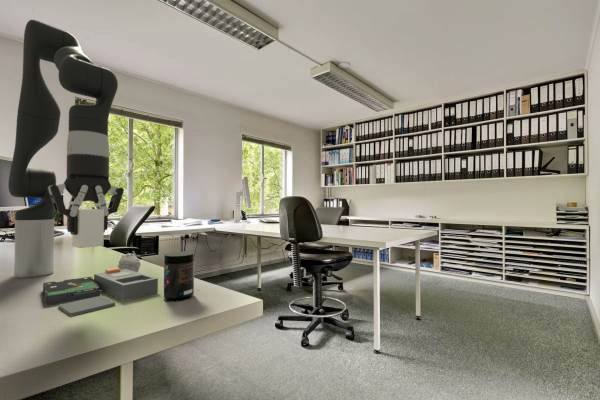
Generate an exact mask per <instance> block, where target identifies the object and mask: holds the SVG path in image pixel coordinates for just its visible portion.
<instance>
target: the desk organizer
mask: <svg viewBox="0 0 600 400" xmlns="http://www.w3.org/2000/svg"><path fill="white" fill-rule="evenodd" d="M93 279H94V281H95V282H96V283H97V284H98V285H99V288H100V292H103V293H106V294H108V295H110V296H113V297H114V298H117V299H120V300H121V301H127V300H131V299H136V298H140V297H144V296H149V295H153V294H157V293H159V288H158V287H159V278H157V277H154V276H151V275H148V274H145V273H142V272H139V271H138V272H135V271H132V270H128V269H122V270H121V269H120V268H118V267H115V268H108V269H107V268H106V269H105V270H104V271H103V272H97V273H94V274H93Z"/></svg>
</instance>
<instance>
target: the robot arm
mask: <svg viewBox="0 0 600 400" xmlns="http://www.w3.org/2000/svg"><path fill="white" fill-rule="evenodd" d="M24 28H25V29H24V34H23V52H22V53H23V56H22V79H21V87H20V94H19V98H18V99H19V101H18V107H17V116H16V129H15V141H14V150H13V155H12V161H11V164H10V169H9V170H10V171H9V176H8V188H7V189H8V192H9V193H10V196H12V197H15V198H30V199H32V198H33V199H36V198H38V199H40V200H39V202H37V203H36V204H34V205H32V206H29V207H26V208H22V209H18V210H16V211H15V213H14V258H13V259H14V263H13V264H14V265H13V266H14V269H13V271H14V272H13V277H14V278H33V277H34V278H35V277H40V276H47V275H50V274H53V273H54V269H55V268H54V265H55V264H54V261H55V213H56V214H58V215H59V214H60V215H62V216H65V217H66V230H67V232H68V233H70V235H72V236H73V235H77V234H78V217H76V215H77V213H78V209H80V207H81V206H82V204H83V202H92V203H93V205H94V206H95V209H104V233H106V231H107V230H108V227H109V226H108V225H109V222H108V221H109V218H108V217H109V216H110V215H112V214H115V213H117V212H118V210H119V207H120V203H121V200H122V197H123V195H124V191H125V189H124V188H123V187H116V186H113V185H112V184H111V182H110V180H109V177H110V143H109V116H110V111H111V108H112V104H113V103H114V99H115V96H116V94H117V92H118V87H119V83H118V79H117V76H116V74H115V73H114V72H113V71H112V70H110V69H109V68H106V67H103V66H101V65H100V66H99V65H96V64H94V62H93V61H92V60H91V59H90V58H89V57H88V56H87V55H85V54H84V51H83V49H82V47H81V45H80V43H79V40H78V39H77V38H76V37H75V35H73V34H72V33H70V32H69V31H66V30H63V29H61V28H58V27H56V26H52V25H50V24H46V23H45V22H42V21H40V20H35V19H29V20H28V21H27V22H26V25H25V27H24ZM41 60H42V61H46V62H49V63H52V64H54V65H55V67H56V69H57V71H58V81H59V84H60V86H61V87H62V88H63V89H64V90H66V91H67V92H70V93H73V94H76V95H80V96H84V97H89V98H93V99H95V103H94V104H73V105H71V106H70V108H69V111H68V135H67V141H66V178H65V180H64V182H63V183H60V184H57V178H56V177H57V176H56V174H55V172H54V170H52V169H46V168H36V167H35V168H33V167H29V164H30V162H31V161H32V159H33V158H34V157H35V155H36V154H37V153H38V152H39V151H41V149H43V148H44V147H45V146H46V145H47V144H49V143H50V142H51V141H52V140H53V139H54V138H55V137H56V135H57V134H58V132H59V127H60V121H61V109H60V106H59V104H58V102H57V101H56V98H55V97H54V95H53V93H52V92H51V90H50V89H49V87H48V85H47V83H46V80H45V79H44V76H43V74H42V70H41V64H40V63H41ZM64 190H66V191H67V192H68V193H69V194H70V196H71V198H70V200H69V203H68V207H67V208H66V205H65V203H64V199H63V197H62V195H63V194H64V192H65V191H64ZM108 192H109V194H110V196H111V198H110V200H109V202H108V206H107V201H106V198H105V196H106V195H107V194H108Z"/></svg>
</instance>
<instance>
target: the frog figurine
mask: <svg viewBox="0 0 600 400" xmlns="http://www.w3.org/2000/svg"><path fill="white" fill-rule="evenodd" d="M141 265H142V264H141V262H140V259H139V258H138V256H136V254H135V253H126V254H121V257H120V259H119V261H118V265H117V268H120V269H121V270H122V269H128V270H132V271H135V272H138V273H139V270H140V267H141Z"/></svg>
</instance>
